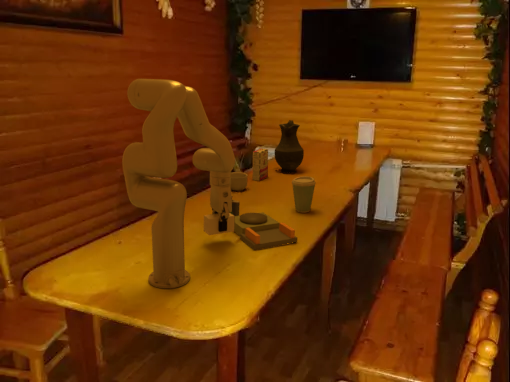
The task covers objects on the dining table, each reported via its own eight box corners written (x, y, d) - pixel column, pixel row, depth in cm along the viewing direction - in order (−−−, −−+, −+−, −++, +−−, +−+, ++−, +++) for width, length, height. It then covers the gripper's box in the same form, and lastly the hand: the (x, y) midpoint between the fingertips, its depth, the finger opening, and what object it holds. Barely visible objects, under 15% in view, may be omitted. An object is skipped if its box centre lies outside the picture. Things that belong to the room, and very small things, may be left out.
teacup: (251, 188, 247) (251, 174, 244) (239, 193, 238) (239, 178, 235) (229, 184, 254) (229, 170, 251) (217, 189, 245) (217, 174, 243)
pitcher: (272, 174, 278) (273, 123, 269) (276, 166, 298) (278, 118, 289) (301, 176, 275) (304, 124, 267) (304, 168, 295) (306, 119, 287)
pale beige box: (235, 231, 174) (235, 215, 173) (209, 235, 169) (209, 219, 168) (229, 227, 179) (229, 212, 177) (203, 230, 174) (203, 215, 172)
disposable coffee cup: (304, 215, 207) (306, 182, 202) (285, 210, 214) (286, 178, 209) (318, 210, 214) (320, 178, 210) (299, 205, 221) (301, 174, 217)
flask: (240, 221, 198) (240, 197, 195) (235, 223, 196) (236, 198, 193) (224, 216, 203) (224, 192, 200) (219, 218, 201) (219, 194, 198)
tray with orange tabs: (297, 242, 177) (297, 229, 175) (254, 250, 169) (254, 236, 168) (265, 220, 199) (265, 209, 198) (225, 226, 191) (225, 214, 190)
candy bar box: (260, 176, 273) (260, 148, 268) (268, 177, 271) (268, 148, 266) (251, 180, 263) (252, 151, 259) (259, 181, 261) (260, 152, 257)
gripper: (239, 185, 164) (238, 234, 168) (220, 174, 178) (220, 220, 183) (219, 187, 160) (219, 237, 165) (202, 176, 175) (202, 222, 180)
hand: (219, 228), depth 174 cm, fingers closed on pale beige box, 5 cm apart
